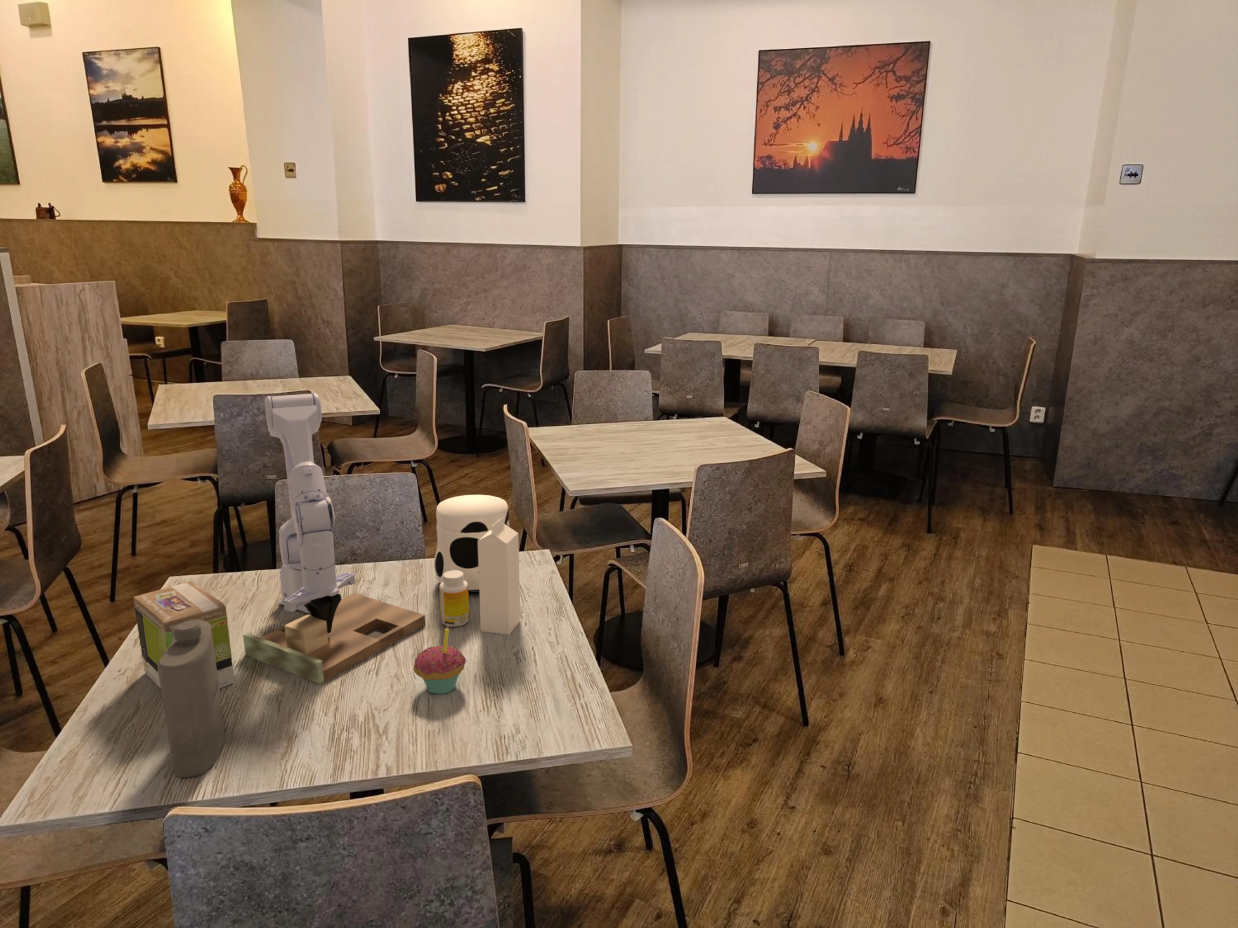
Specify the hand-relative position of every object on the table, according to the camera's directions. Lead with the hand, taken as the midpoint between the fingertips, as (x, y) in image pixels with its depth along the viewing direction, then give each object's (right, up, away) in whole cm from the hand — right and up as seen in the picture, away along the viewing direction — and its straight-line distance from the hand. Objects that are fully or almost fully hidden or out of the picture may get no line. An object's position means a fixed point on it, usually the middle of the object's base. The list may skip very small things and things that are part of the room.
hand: (324, 632), depth 150 cm
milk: (+31, -1, +9) cm, 33 cm away
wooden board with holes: (+2, -2, +4) cm, 5 cm away
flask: (-8, -11, -29) cm, 32 cm away
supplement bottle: (+22, 0, +11) cm, 25 cm away
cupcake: (+24, -7, -12) cm, 28 cm away
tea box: (-19, -6, -11) cm, 23 cm away
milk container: (+23, +5, +30) cm, 38 cm away
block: (-2, -2, -3) cm, 4 cm away
